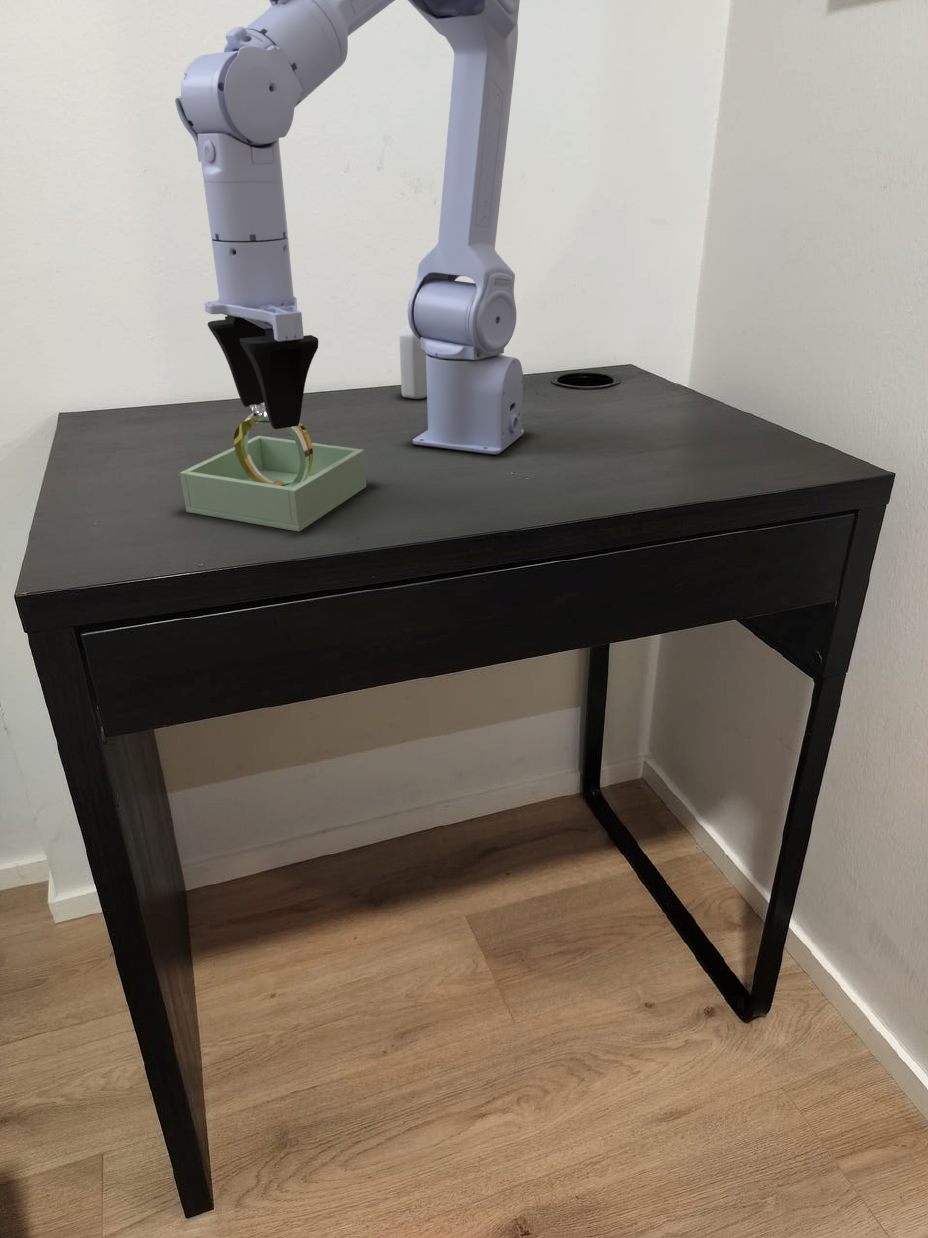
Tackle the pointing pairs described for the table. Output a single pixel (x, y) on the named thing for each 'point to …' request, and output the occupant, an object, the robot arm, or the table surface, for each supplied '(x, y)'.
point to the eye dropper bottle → (412, 366)
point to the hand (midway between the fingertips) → (270, 415)
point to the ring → (296, 431)
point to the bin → (239, 498)
